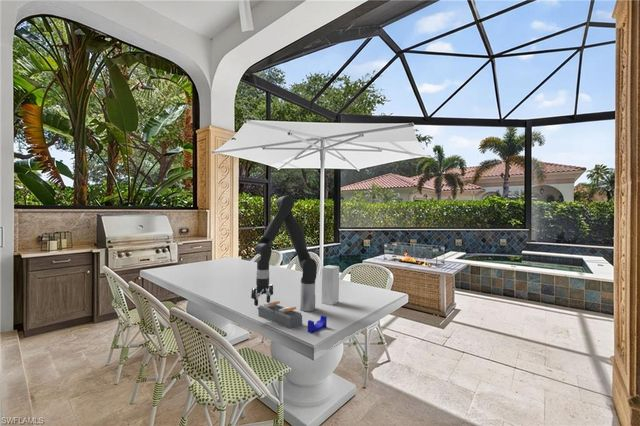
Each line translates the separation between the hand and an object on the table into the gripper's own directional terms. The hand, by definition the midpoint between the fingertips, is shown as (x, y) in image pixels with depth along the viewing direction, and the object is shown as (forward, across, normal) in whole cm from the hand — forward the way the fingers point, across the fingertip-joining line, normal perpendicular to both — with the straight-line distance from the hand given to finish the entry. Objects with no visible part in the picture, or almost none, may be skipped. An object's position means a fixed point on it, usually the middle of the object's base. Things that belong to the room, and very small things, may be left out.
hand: (262, 304), depth 180 cm
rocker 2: (0, -4, +18) cm, 19 cm away
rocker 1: (0, -4, +4) cm, 6 cm away
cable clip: (+8, -9, +35) cm, 37 cm away
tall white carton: (+8, -50, +11) cm, 52 cm away
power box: (+8, -4, +8) cm, 12 cm away
